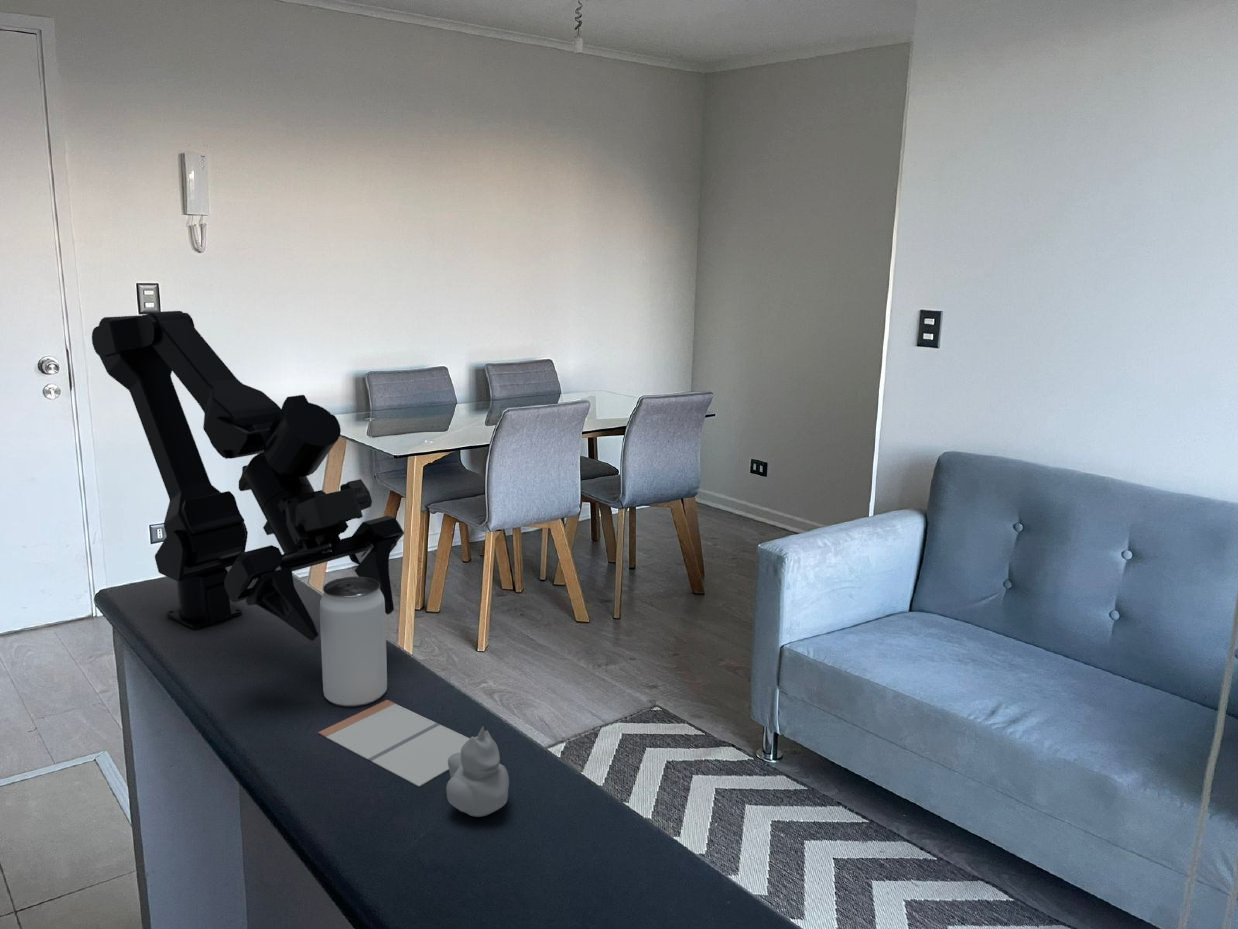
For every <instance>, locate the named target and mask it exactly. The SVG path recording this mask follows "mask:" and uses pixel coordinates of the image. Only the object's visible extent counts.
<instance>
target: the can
mask: <svg viewBox="0 0 1238 929" xmlns="http://www.w3.org/2000/svg"><path fill="white" fill-rule="evenodd" d="M322 591H323V593H322V596H321V598H320V601H319V623H320V624H319V625H320V626H319V628H320V644H321V645H320V647H321V649H320V652H321V653H320V654H321V669H322V670H321V671H322V674H321V675H322V689H323V690H322V692H323V695H324V698H326V699H327V701H328V702H330V703H331V704H332V705H336V706H338V707H339V706H340V707H347V708H350V707H351V708H353V707H360V706H362V707H363V706H367V705H370V704H372V703H375V702H376V701H378V700H379V699H380V698H382V697H383V695H384V694H385V693H386V692H387V689H388V672H387V671H388V670H387V666H388V664H387V632H386V631H387V630H386V629H387V628H386V613H385V600H384V596H383V594H382V592H381V590H380V583H379V582H378V581H377V580H375V579H372V578H368V577H359V576H345V577H339V578H336V579H333V580H330V581H329V582H327V583H325V585H323V587H322Z"/></svg>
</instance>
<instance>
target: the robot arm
mask: <svg viewBox="0 0 1238 929" xmlns="http://www.w3.org/2000/svg"><path fill="white" fill-rule="evenodd" d="M91 343H92V347H93V350H94V352H95V353H96V354H97V356H99V359H100V360H101V363H102V365H103V366H104V367H103V368H104V370H105V371H106V373H107V374H108V375H109V377H111V378H112V379H113V380H115V381H117V383H119V384H120V385H121V386H123V388H125V389H126V390H127V391H129V393H130V396H131V399H132V401H133V404H134V406H135V410H136V412H137V415H138V417H139V420H140V423H141V425H142V428H143V431H144V434H145V437H146V438H147V442H148V445H149V447H150V450H151V453H152V456H153V458H154V460H155V463H156V466H157V468H158V471H159V474H160V477H161V480H162V482H163V485H164V487H165V490H166V493H167V496H168V498H169V502H168V506H167V510H166V515H165V518H164V523H163V529H164V532H165V535H166V537H165V539H164V540H163V542H162V543H161V544H160V546H159V548H158V550H157V551H156V552H155V555H154V560H155V564H156V568H157V572H158V573H159V574H161V575H163V576H164V577H167V578H169V579H171V580H173V581H176V590H177V602H178V608H175V609H171V610H169V611H166V616H167V617H168V618H170V619H172V620H174V621H177V622H178V623H181V624H182V625H184V626H187V627H189V628H190V629H195V630H196V629H200V628H204V627H207V626H209V625H213V624H216V623H218V622H221V621H225V620H228V619H231V618H234V617H236V616H239V615H240V616H241V615H242V614H243V609H242V608H241V607H238V606H235V605H233V604H231V603H238V602H241V601H245V603H246V605H247V606H249V607H250V606H254V605H255V606H257V607H260V608H261V609H263V610H264V611H266V612H268V613H270V614H272V615H274V616H275V617H277V618H278V619H280V620H281V621H283V622H284V623H286V624H287V625H289V626H290V628H293V629H294V630H296V631H297V632H298V633H300V634H301V635H303V636H304V637H305V638H306V639H307V640H309V641H311V642H314V641H316V640H317V639H318V637H319V633H318V630H317V628H316V625H315V623H314V620H313V619H312V617H311V615H310V613H309V611H308V610H307V608H306V605H305V604H304V602H303V601H302V599H301V597H300V595H299V593H298V591H297V589H296V588H295V584H294V583H295V582H294V577H293V572H296V571H299V570H302V569H303V570H304V569H306V568H309V567H313V566H316V565H319V564H324V563H327V562H331V561H335V560H338V559H342V558H347V557H349V559H350V561H351V562H352V563H355V564H357V565H358V566H357V567H356V568H355V569H354V572H355V573H356V575H357V577H368V578H372V579H375V580H377V581H378V582H379V583H380V590H381V592H382V594H383V596H384V600H385V615H390V614H392V613H393V612H394V610H395V606H394V600H393V594H392V584H391V579H390V568H389V566H390V564H389V562H390V561H389V560H390V554H391V553H392V552H393V550H394V549H395V547H396V546H397V544H398V542H399V541H400V539H401V538H402V537H403V536H404V534H405V531H404V529H403V528H402V527H401V524H400V523H399V521H398V519H396V517H392V516H390V515H385V516H381V517H377V518H374V519H369V520H365V521H362V523H361V524H360V525H359V527H358V528H357V529H356V530H355V531H354V533H353V534H352V535H351V536H348V537H345V538H341V537H340V535H341V534H343V533H345V532H346V531H347V530H348V529H349V527H350V526H349V524H348V523H347V522H349V521H352V520H355V519H359V520H360V519H362V518H363V517H364V516H363V515H364V514H363V513H362V511H364V510H366V509H369V508H371V507H372V504H373V499H372V496H371V494H370V493H371V492H370V490H369V489H368V487H367V485H366V484H365V483H364V481H363V480H362V478H359V479H354V480H351V481H347V482H346V483H343V484H341V485H340V487H339V490H337V491H333V492H332V491H331V492H328V493H326V492H325V491H324V490H323V489H320V490H316V491H315V490H314V487H313V485H312V484H311V482H310V479H309V478H308V476H311V475H313V474H314V473H315V472H316V471H317V470H318V469H319V467H320V466H321V465H322V463H323V461H324V460H325V459H326V457H327V456H328V454H329V453H330V452H331V450H332V449H333V447H334V446H335V445H336V443H337V442H338V440H339V438H340V436H341V432H342V430H341V424H340V422H339V420H338V419H337V417H336V415H334V414H332V413H331V412H330V411H328V410H327V409H326V408H324V407H323V406H321V405H318V404H315V403H312V402H309V401H308V399H307V397H306V395H304V394H299V395H291V396H287V397H286V398H285V400H284V401H283V403H282V406H281V407H280V406H279V405H278V404H277V403H276V402H275V401H274V400H273V399H271V398H270V397H269V396H268V395H267V394H266V393H265V392H263V391H262V390H259V389H257V388H254V387H252V386H249V385H247V384H244V383H242V382H241V381H240V380H239V379H238V378H237V377H236V375H235V374H234V373H233V372H232V371H231V370H230V368H229V367H228V366H227V365H226V364H225V363H224V361H223V360H222V359H221V358H220V357H219V355H218V354H217V353H216V351H215V350H214V349H213V348H212V347H211V346H210V345H209V343H208V342H207V341H206V339H205V338H204V337H203V336H202V334H201V333H199V331H198V330H197V329H196V327H195V324H194V319H193V318H192V316H191V314H189V313H188V312H183V311H182V310H167V311H164V310H163V311H150V312H148V313H146V314H142V315H121V316H104V317H103V318H101V319H100V321H99V323H98V325H97V326H95V327H94V328H93V329H92V333H91ZM172 373H173V374H174V375H175V377H176V378H177V379H178V380H179V381H180V382H181V384H182V385H183V386H184V388H186V390H187V391H188V393H189V394H190V395H191V396H192V398H193V399H194V400H195V401H196V402H197V404H198V405H199V406H200V409H201V410H202V411H203V413H204V417H203V425H202V429H203V431H204V432H205V433H204V434H206V436H207V437H208V439H209V442H210V444H211V446H212V447H213V448H214V449H215V450H216V452H217V453H218V454H219V455H220V456H221V457H222V458H224V459H226V460H227V459H229V460H231V459H237V458H242V457H249V456H253V457H252V458H251V460H250V461H249V463H248V464H247V465H243V466H242V470H241V471H242V472H241V475H240V478H239V480H238V490H239V491H240V492H244V491H245V492H246V491H251V493H252V494H253V497H254V498H255V501H256V502H257V505H258V506H259V508H260V510H261V513H262V514H263V517H264V518H265V520H266V522H265V524H264V525H263V527H262V528H263V530H264V532H265V534H266V536H271V535H274V536H275V539H276V542H277V543H278V545H279V547H280V548H281V550H282V552H283V553H282V552H281V550H280V548H279V547H277V546H275V545H273V544H270V545H266V546H263V547H259V548H255V549H251V550H247V551H246V548H247V542H248V535H249V533H248V528H247V526H246V524H245V519H244V517H243V515H242V514H241V512H240V510H239V506H238V504H237V500H236V497H235V495H234V494H233V493H232V492H231V491H229V490H228V491H223V492H221V491H220V490H219V489H217V488H216V487H215V486H214V485H213V484H212V482H211V480H210V478H209V476H208V472H207V470H206V468H205V465H204V462H203V459H202V456H201V453H200V452H199V449H198V446H197V443H196V441H195V438H194V435H193V433H192V430H191V427H190V425H189V422H188V419H187V417H186V414H185V411H184V409H183V406H182V403H181V401H180V398H179V395H178V393H177V390H176V388H175V387H176V386H175V385H174V382H173V379H172ZM227 568H229V570H228V569H227Z"/></svg>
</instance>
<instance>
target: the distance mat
mask: <svg viewBox="0 0 1238 929" xmlns="http://www.w3.org/2000/svg"><path fill="white" fill-rule="evenodd" d="M317 733H318V735H321V736H322V737H324V738H326V739H328V740H330V741H332V742H333V743H336V744H337V745H340V746H341V747H344V748H345V749H347V750H349V751H350V752H352V753H355V754H356V755H358V756H360V757H362V758H364V759H366V760H368V762H369V761H370V762H372V763H373V764H375V765H377V766H379V767H380V768H383V769H385V770H387V771H388V772H390V773H392V774H394V775H396V776H398V777H399V778H402V779H403V780H406V782H410V783H411V784H412V785H415V786H416V787H419V788H420V787H421V786H423V785H425V784H426V783H428V782H430V781H432V780H433V779H435V778H437V777H438V776H440V775H442V774H444V773H445V772H447V771H450V770H449V767H448V758H449V757H450V756H451V755H453V754H455V753H461V748H462V746H463V745H464V744H465V743H466V742H467V741H468V740H469V739H470V738H471V737H468V736H465V735H464V734H461V733H459V732H457V731H455V730H453V729H450V728H448V727H446V726H445V725H441V724H440V723H438V722H436V721H433V720H431V719H429V718H427V717H424V716H422V715H420V714H418V713H416V712H414V711H412V710H409V709H407V708H405V707H403V706H400V705H399V704H397V703H395V702H394V701H392V700H388V699H385V700H384V701H381V702H380V703H379V702H378V703H377V704H375V705H373V706H371V707H369V708H366V709H364V710H362V711H360V712H358V713H356V714H354V715H352V716H350V717H347V718H346V719H343V720H341V721H339V722H337V723H334V724H332V725H331V726H328V727H326V728H324V729H322V730H321V731H318V732H317Z"/></svg>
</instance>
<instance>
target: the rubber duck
mask: <svg viewBox="0 0 1238 929" xmlns="http://www.w3.org/2000/svg"><path fill="white" fill-rule="evenodd" d="M469 738H470V739H469V740H468V741H467V742H466V743H465V744H464V745H463V746H462V748H461V753H455V754H453V755H451V756H450V757H449V758H448V767H449V770H448V771H449V774H450V775H449V776H450V779H449V780H448V781H447V783H446V788H445V789H446V790H445V792H446V798H447V801H448V802H449V804H450V805H451V806H453V807H454V808H455V809H457V810H458V811H460V812H462V813H465V814H467V815H469V816H471V817H477V818H478V817H479V818H480V817H485V816H488V815H490V814H492V813H494V812H496V811H498V810H500V809H501V808H502V807H504V806H505V805H506V803H507V802H508V796H509V787H510V786H509V785H510V778H509V772H508V771H507V769H506V767H505V765H503V764H501V763H500V760H501V758H500V756H501V755H500V751H499V748H498V744H497V743H496V742H495V740H494V739H493V738H492V736H491V734H490V733H489V730H488V729H486V730H485V728H484V726H482V727H481V728H480V731H479V732H478V734H477V736H471V737H469Z"/></svg>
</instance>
